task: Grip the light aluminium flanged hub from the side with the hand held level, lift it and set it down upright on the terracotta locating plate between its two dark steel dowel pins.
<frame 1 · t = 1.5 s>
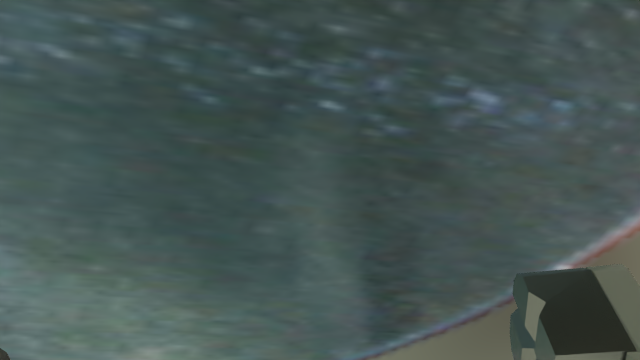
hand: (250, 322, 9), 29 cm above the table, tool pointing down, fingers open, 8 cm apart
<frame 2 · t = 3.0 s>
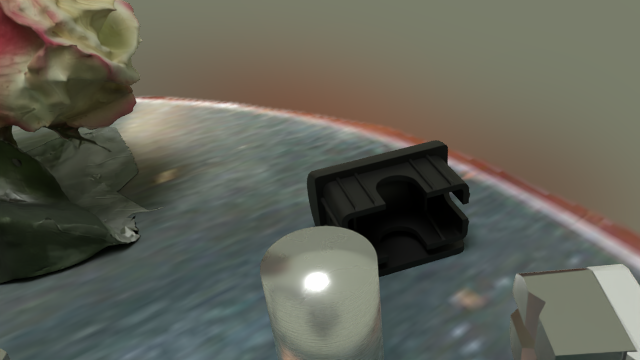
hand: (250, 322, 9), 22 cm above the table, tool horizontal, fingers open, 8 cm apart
rose bouquet: (15, 205, 55), on the table
end cap: (389, 242, 46), on the table
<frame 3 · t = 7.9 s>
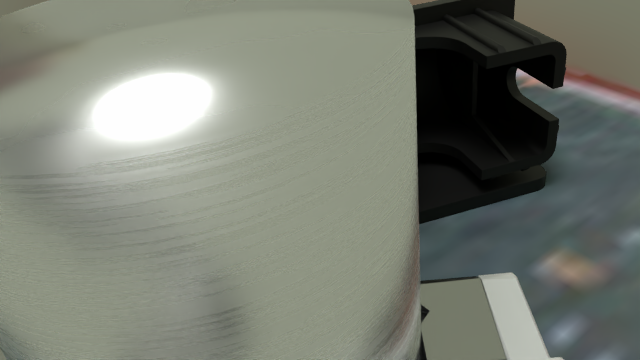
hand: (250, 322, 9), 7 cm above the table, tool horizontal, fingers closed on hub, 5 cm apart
end cap: (407, 177, 26), on the table
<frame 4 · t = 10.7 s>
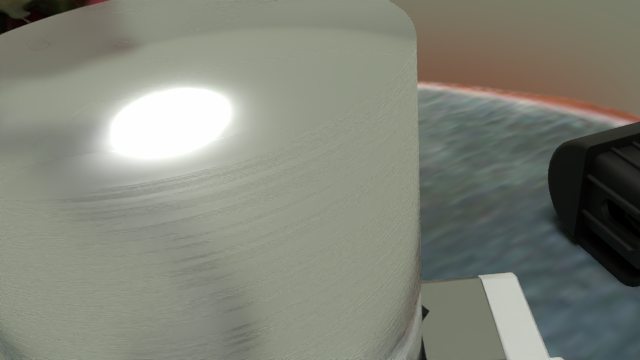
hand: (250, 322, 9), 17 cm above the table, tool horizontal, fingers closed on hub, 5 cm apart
rose bouquet: (127, 204, 45), on the table
when the fingers open (9 cm above the table, at t = 13.4 s): hub stays where it is, resting on locating plate.
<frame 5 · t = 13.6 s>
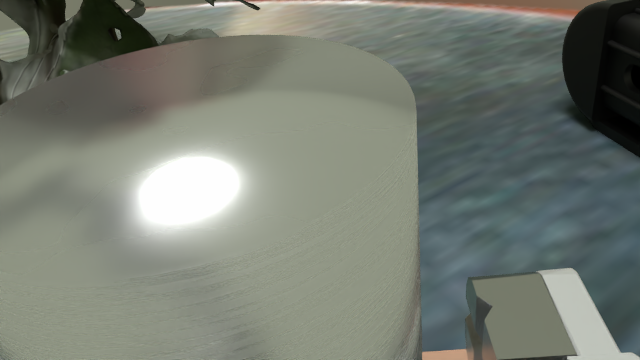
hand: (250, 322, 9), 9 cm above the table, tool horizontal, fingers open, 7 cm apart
rose bouquet: (94, 116, 40), on the table
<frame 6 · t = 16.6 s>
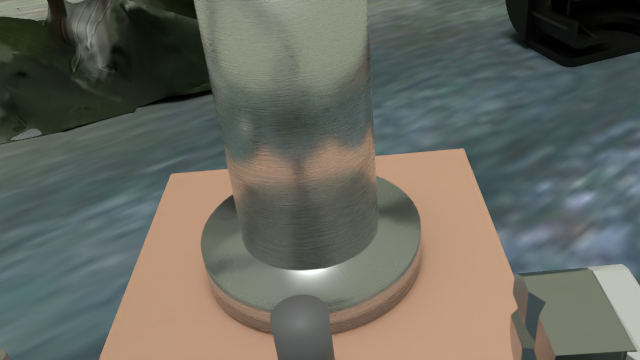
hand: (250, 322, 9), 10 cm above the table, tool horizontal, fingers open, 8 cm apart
hub: (313, 256, 23), point 2 cm above the table, touching locating plate
locating plate: (317, 286, 24), on the table
rose bouquet: (134, 53, 50), on the table
end cap: (591, 41, 42), on the table
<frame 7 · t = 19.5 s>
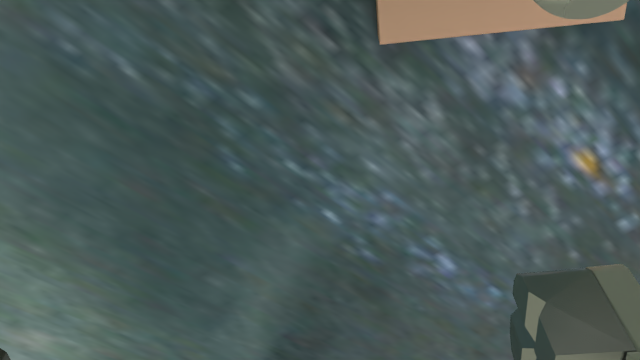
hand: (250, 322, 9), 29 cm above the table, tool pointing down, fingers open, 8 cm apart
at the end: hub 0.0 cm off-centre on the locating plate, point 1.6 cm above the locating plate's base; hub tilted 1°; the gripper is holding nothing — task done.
